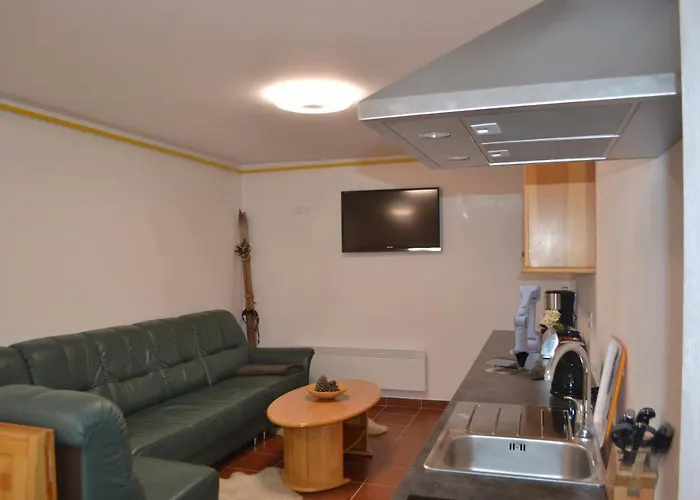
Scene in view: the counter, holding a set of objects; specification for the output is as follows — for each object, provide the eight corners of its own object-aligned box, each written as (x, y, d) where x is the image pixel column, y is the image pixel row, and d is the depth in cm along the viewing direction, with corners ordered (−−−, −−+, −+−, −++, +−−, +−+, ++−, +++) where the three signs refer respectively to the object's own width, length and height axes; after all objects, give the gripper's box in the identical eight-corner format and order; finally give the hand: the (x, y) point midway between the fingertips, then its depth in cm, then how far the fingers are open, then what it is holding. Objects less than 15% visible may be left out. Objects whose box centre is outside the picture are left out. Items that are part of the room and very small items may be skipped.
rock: (539, 358, 267) (553, 375, 262) (531, 365, 271) (544, 382, 266) (527, 362, 260) (541, 380, 255) (519, 369, 263) (532, 387, 258)
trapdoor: (523, 367, 284) (523, 358, 284) (508, 373, 271) (508, 364, 271) (500, 364, 293) (500, 355, 293) (485, 369, 279) (485, 361, 279)
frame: (522, 370, 280) (522, 359, 280) (511, 375, 270) (511, 363, 270) (493, 366, 290) (493, 356, 290) (482, 370, 281) (482, 359, 281)
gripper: (525, 337, 276) (525, 364, 276) (504, 340, 269) (505, 367, 269) (536, 339, 270) (536, 366, 270) (515, 342, 263) (516, 370, 263)
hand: (521, 367), depth 269 cm, fingers closed
